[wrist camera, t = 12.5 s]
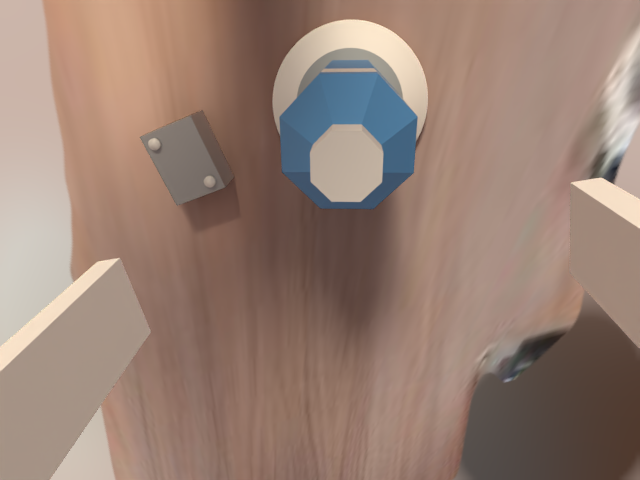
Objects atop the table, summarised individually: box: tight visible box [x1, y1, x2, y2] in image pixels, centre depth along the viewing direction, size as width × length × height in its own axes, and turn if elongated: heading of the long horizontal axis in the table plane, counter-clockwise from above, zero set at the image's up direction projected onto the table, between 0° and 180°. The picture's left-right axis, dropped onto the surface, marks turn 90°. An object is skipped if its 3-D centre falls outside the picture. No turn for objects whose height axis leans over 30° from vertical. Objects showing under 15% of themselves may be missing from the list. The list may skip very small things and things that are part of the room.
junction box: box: [140, 110, 234, 206], centre depth 49 cm, size 8×6×4 cm
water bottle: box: [279, 60, 418, 209], centre depth 36 cm, size 9×9×25 cm
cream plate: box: [272, 20, 428, 141], centre depth 48 cm, size 16×16×1 cm
